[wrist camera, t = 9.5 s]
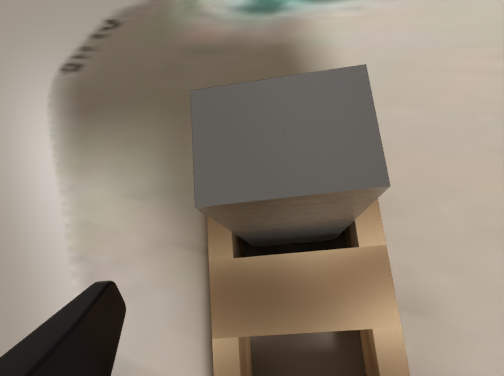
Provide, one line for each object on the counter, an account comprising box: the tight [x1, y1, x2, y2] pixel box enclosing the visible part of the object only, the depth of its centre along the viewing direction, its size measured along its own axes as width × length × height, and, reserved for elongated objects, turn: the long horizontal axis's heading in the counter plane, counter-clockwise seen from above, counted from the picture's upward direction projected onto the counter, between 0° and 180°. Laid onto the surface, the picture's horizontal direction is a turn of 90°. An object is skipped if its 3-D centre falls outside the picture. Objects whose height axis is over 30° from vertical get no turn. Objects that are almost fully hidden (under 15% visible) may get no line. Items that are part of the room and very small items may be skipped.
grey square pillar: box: [191, 64, 390, 247], centre depth 15 cm, size 4×5×13 cm
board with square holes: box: [207, 198, 410, 376], centre depth 18 cm, size 18×9×4 cm, turn 5°
